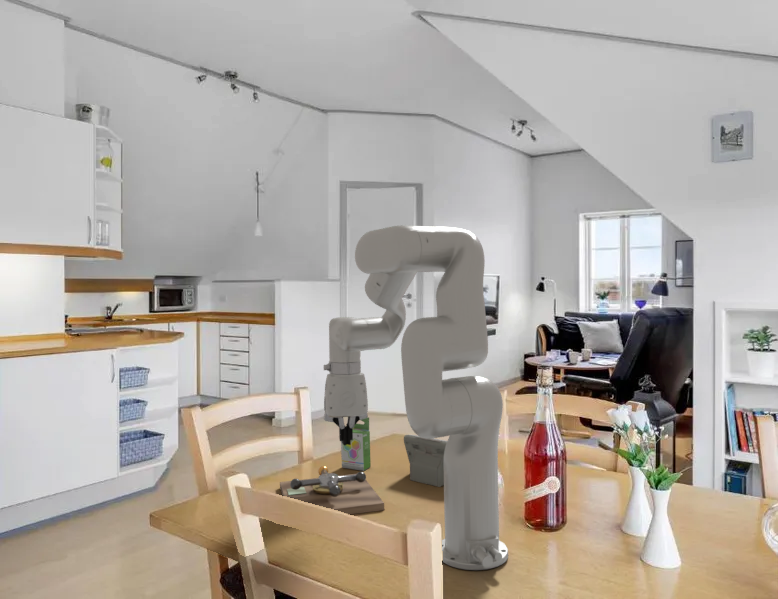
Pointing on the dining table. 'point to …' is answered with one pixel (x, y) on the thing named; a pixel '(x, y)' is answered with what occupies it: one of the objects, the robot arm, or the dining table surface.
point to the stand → (339, 497)
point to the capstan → (327, 482)
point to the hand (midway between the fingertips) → (346, 443)
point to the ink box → (357, 448)
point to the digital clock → (426, 459)
